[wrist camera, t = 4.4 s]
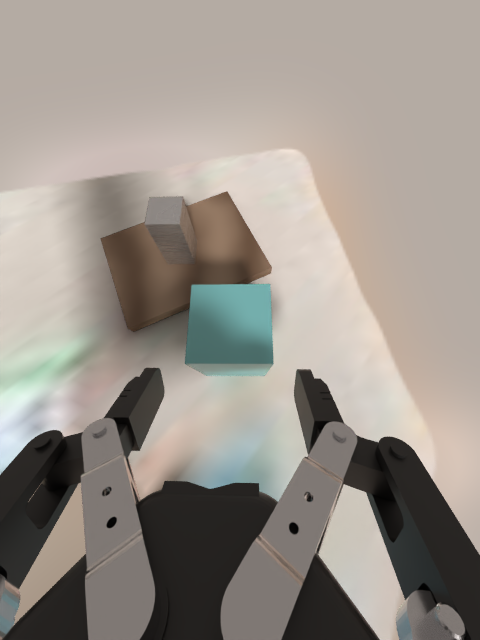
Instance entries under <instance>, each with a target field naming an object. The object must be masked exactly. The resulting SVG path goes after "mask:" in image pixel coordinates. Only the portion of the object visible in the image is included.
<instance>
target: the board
mask: <svg viewBox="0 0 480 640" xmlns="http://www.w3.org/2000/svg"><path fill="white" fill-rule="evenodd" d="M186 208H187V211H188V214H189V217H190V220H191V223H192V227H193V230H194V233H195V236H196V239H197V249H196V261H195V264H168V263H167V262H166V260H165V258H164V257H163V255H162V253H161V252H160V250H159V248H158V247H157V245H156V243H155V241H154V240H153V238H152V236H151V235H150V233H149V231H148V230H147V228H146V226H145V225H144V224H145V222H144V223H141V224H138V225H136V226H133V227H130V228H128V229H125V230H122V231H120V232H117V233H114V234H112V235H109V236H106V237H103V238H101V241H102V245H103V248H104V251H105V255H106V258H107V261H108V265H109V268H110V271H111V274H112V278H113V281H114V284H115V288H116V291H117V294H118V298H119V301H120V304H121V307H122V311H123V314H124V317H125V321H126V324H127V327H128V329H130V330H131V331H133V332H134V331H137V330H139V329H141V328H144V327H146V326H148V325H151V324H153V323H155V322H158V321H160V320H162V319H165V318H167V317H169V316H172V315H174V314H176V313H179V312H181V311H184V310H186V309H188V308H190V298H191V286H192V285H222V284H247V283H249V282H252V281H254V280H256V279H259V278H261V277H263V276H266V275H268V274H270V273H271V269H272V267H271V265H270V264H269V262H268V260H267V258H266V257H265V255H264V253H263V252H262V250H261V248H260V247H259V245H258V243H257V241H256V240H255V238H254V236H253V235H252V233H251V231H250V229H249V228H248V226H247V224H246V223H245V221H244V219H243V218H242V216H241V214H240V212H239V211H238V209H237V207H236V206H235V204H234V202H233V201H232V199H231V197H230V195H229V194H228V192H224V193H221V194H219V195H216V196H213V197H211V198H208V199H205V200H203V201H200V202H197V203H195V204H192V205H189V206H187V207H186Z"/></svg>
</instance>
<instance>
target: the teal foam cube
mask: <svg viewBox="0 0 480 640" xmlns="http://www.w3.org/2000/svg"><path fill="white" fill-rule="evenodd" d="M185 364H186V365H188V366H190V367H192V368H194V369H195V370H197V371H199V372H201V373H203V374H204V375H206V376H265V375H266V373H267V372H268V371H269V369H270V368H271V366H272V365H273V341H272V316H271V292H270V284H222V285H192V286H191V298H190V310H189V321H188V333H187V345H186V356H185Z"/></svg>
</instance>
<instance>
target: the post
mask: <svg viewBox="0 0 480 640" xmlns="http://www.w3.org/2000/svg"><path fill="white" fill-rule="evenodd" d="M144 225H145V226H146V228H147V230H148V231H149V233H150V235H151V236H152V238H153V240H154V241H155V243H156V245H157V247H158V248H159V250H160V252H161V253H162V255H163V257H164V258H165V260H166V262H167V263H168V264H195V261H196V249H197V239H196V236H195V233H194V230H193V227H192V223H191V220H190V217H189V214H188V211H187V208H186V205H185V202H184V199H183V197H149V202H148V208H147V213H146V219H145V224H144Z"/></svg>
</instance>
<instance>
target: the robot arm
mask: <svg viewBox="0 0 480 640" xmlns="http://www.w3.org/2000/svg"><path fill="white" fill-rule="evenodd" d="M163 397H164V385H163V380H162V375H161V371H160V369H159V368H145V369H144V371H143V372H142V374H141V375H140V377H135V378H134V379H132V380H131V381H130V382H129V383H128V384H127V385H126V387H125V388H124V390H123V391H122V392H121V394H120V395H119V397H118V398H117V400H116V401H115V403H114V404H113V405H112V407H111V408H110V410H109V411H108V413H107V414H106V416H105V417H104V418H103V419H100V420H97V421H95V422H93V423H92V424H90V425H89V426H88V427H87V428H86V429H85V430H84V432H82V433H78V434H74V435H70V436H66V437H64V436H63V435H62V433H61V432H60V431H58V430H51V431H47V432H45V433H42V434H40V435H38V436H37V437H35V438H34V439H32V440H31V441H30V442H29V443H28V444H27V445H26V446H25V447H24V448H23V450H22V451H21V452H20V453H19V454H18V455H17V456H16V458H15V459H14V460H13V461H12V462H11V463H10V464H9V466H8V467H7V468H6V469H5V470H4V471H3V472H2V474H1V475H0V640H380V639H379V638H378V637H377V635H376V634H375V632H374V631H373V630H372V628H371V627H370V625H369V624H368V623H367V621H366V620H365V619H364V617H363V616H362V614H361V613H360V612H359V610H358V609H357V608H356V606H355V605H354V603H353V602H352V601H351V599H350V598H349V597H348V595H347V594H346V592H345V591H344V590H343V588H342V587H341V586H340V584H339V583H338V581H337V580H336V579H335V577H334V576H333V575H332V573H331V572H330V570H329V569H328V568H327V566H326V565H325V564H324V562H323V561H322V559H321V558H320V557H319V555H318V554H319V552H320V549H321V546H322V543H323V541H324V538H325V535H326V532H327V529H328V526H329V523H330V521H331V518H332V515H333V512H334V510H335V507H336V504H337V501H338V499H339V496H340V493H341V491H342V488H343V485H344V484H345V485H348V486H351V487H353V488H356V489H359V490H362V491H364V492H366V493H367V496H368V499H369V501H370V504H371V507H372V510H373V512H374V515H375V518H376V521H377V523H378V526H379V529H380V532H381V534H382V537H383V540H384V543H385V545H386V548H387V551H388V554H389V557H390V559H391V562H392V565H393V568H394V570H395V573H396V576H397V579H398V581H399V584H400V587H401V590H402V592H403V595H404V598H405V602H404V603H403V604H402V605H401V606H400V608H399V609H398V612H397V616H396V625H397V631H398V636H399V640H480V555H479V554H478V552H477V550H476V549H475V547H474V545H473V544H472V542H471V541H470V539H469V538H468V536H467V534H466V533H465V531H464V529H463V528H462V526H461V525H460V523H459V521H458V520H457V518H456V517H455V515H454V513H453V512H452V510H451V509H450V507H449V505H448V504H447V502H446V501H445V499H444V497H443V496H442V494H441V493H440V491H439V490H438V488H437V486H436V485H435V483H434V481H433V480H432V478H431V477H430V475H429V473H428V472H427V470H426V469H425V467H424V465H423V464H422V462H421V461H420V459H419V457H418V456H417V454H416V453H415V451H414V450H413V449H412V448H411V447H410V446H409V445H408V444H406V443H405V442H403V441H402V440H400V439H397V438H394V437H383V438H381V439H380V441H379V443H378V442H374V441H371V440H368V439H364V438H361V437H359V436H357V435H356V434H355V433H354V431H353V430H352V429H351V428H350V427H349V426H347V425H345V424H344V422H343V420H342V417H341V415H340V413H339V411H338V409H337V406H336V404H335V402H334V400H333V397H332V395H331V394H330V391H329V389H328V386H327V385H326V384H325V383H324V382H323V381H322V380H321V379H314V377H313V374H312V372H311V370H306V369H297V371H296V379H295V387H294V398H295V403H296V407H297V411H298V415H299V419H300V423H301V428H302V432H303V436H304V440H305V444H306V448H307V452H308V457H304V458H303V460H302V461H301V463H300V465H299V467H298V468H297V470H296V472H295V474H294V475H293V477H292V479H291V481H290V482H289V484H288V486H287V488H286V490H285V491H284V493H283V495H282V497H281V498H280V500H279V502H277V501H276V500H275V499H273V498H272V497H270V496H269V495H267V494H265V493H262V492H259V483H233V484H229V485H225V486H221V487H217V488H214V489H208V488H205V487H202V486H199V485H196V484H193V483H190V482H183V481H165V482H164V485H163V488H162V490H159V491H156V492H154V493H152V494H150V495H148V496H146V497H145V498H143V499H142V500H140V497H139V494H138V491H137V487H136V483H135V480H134V476H133V472H132V469H131V465H130V461H129V458H128V456H129V454H130V452H131V451H140V449H141V446H142V444H143V442H144V440H145V438H146V435H147V433H148V431H149V429H150V426H151V424H152V422H153V420H154V418H155V415H156V413H157V411H158V409H159V406H160V404H161V402H162V400H163ZM41 482H42V483H41ZM80 482H81V490H82V504H83V517H84V532H85V545H86V554H85V555H84V556H83V557H82V558H81V559H80V560H79V561H78V562H77V563H76V564H75V565H74V566H73V567H72V568H71V569H70V570H69V571H68V572H67V573H66V574H65V575H64V576H63V577H62V578H61V579H60V580H59V581H58V582H57V583H56V584H55V585H54V586H53V587H52V588H51V589H50V590H49V591H48V592H47V593H46V594H45V595H44V596H43V597H42V598H41V599H40V600H39V601H38V602H37V603H36V604H35V605H34V606H33V607H32V608H31V609H30V610H29V611H28V612H27V613H25V615H23V617H21V618H20V619H19V621H18V622H17V623H16V624H15V625H14V626H13V624H14V621H15V615H16V612H17V610H18V607H19V603H20V592H19V588H20V586H21V584H22V582H23V581H24V579H25V577H26V575H27V574H28V572H29V570H30V568H31V566H32V565H33V563H34V561H35V559H36V558H37V556H38V554H39V552H40V550H41V549H42V547H43V545H44V543H45V542H46V540H47V538H48V536H49V535H50V533H51V531H52V529H53V528H54V526H55V524H56V522H57V521H58V519H59V517H60V515H61V513H62V512H63V510H64V508H65V506H66V505H67V503H68V501H69V499H70V497H71V496H72V494H73V492H74V490H75V488H76V487H77V485H78V483H80ZM40 484H41V485H40ZM39 485H40V486H39ZM38 487H39V488H38ZM37 488H38V489H37ZM36 490H37V491H36ZM35 491H36V492H35ZM34 492H35V494H34ZM33 494H34V495H33ZM32 495H33V496H32ZM31 497H32V498H31ZM30 498H31V499H30ZM29 500H30V501H29ZM28 501H29V502H28Z"/></svg>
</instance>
